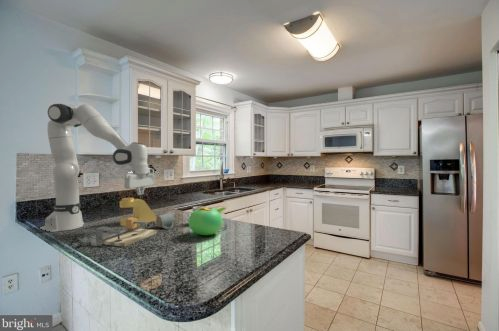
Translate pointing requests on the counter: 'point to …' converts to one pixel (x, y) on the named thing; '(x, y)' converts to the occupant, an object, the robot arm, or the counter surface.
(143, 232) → the bolt plate
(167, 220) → the ceramic mug
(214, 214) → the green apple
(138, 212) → the clamp
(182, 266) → the counter surface
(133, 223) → the sliding leg
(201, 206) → the mug
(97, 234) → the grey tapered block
